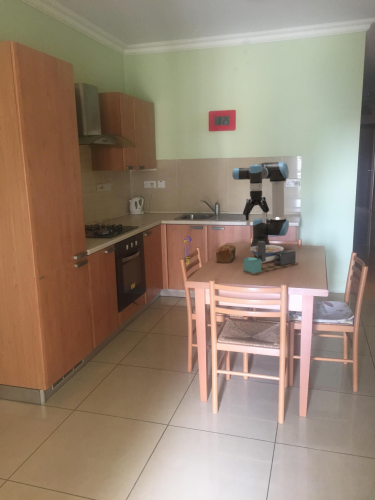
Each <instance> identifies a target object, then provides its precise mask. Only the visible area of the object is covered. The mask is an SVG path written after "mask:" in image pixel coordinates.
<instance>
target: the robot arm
mask: <svg viewBox="0 0 375 500" xmlns="http://www.w3.org/2000/svg"><path fill="white" fill-rule="evenodd" d="M289 174H290V171H289V166H288V164H287V163H286V162H285V161H274V162H272V161H271V162H262V163H261V162H260V163H258V164H250V166H246V167H235V168H233V169H232V178H233V180H235V181H236V180H238V181H240V180H241V181H243V180H249V190H250V191H249V197H250V198H246V204H245V206H244V208H243V211H242V215H244V216H245V221H246V223H245V224H246V227H247V226H249V227H250V226H251V212H252V210H253V209H254V207H255V206H259V208H260V209H261V210H262V212H261V213H262V216H261V217H259V218H256V219H253V221H252V240H251V243H250V248H251V247H253V246H256V245H257V242H258V241H264V242H266V245H271V244H270V240H269V239H270V238H269V236H274V237H275V236H276V237H282V236H283V237H285V236H286V235H287V234H288V231H289V227H290V224H289V223H290V222H289V220H288V219H287V217H286V216H285V182H286V181H287V179H288V178H289V176H290V175H289ZM265 179H266V180H269V182H270V183H271V203H272V204H271V205H272V207H271V208H272V209H271V210H272V211H271V212H272V215H271V217H270V219H269V218H268V213H269V212H270V208H269V206H268V203H267V198H266V197H265V196H263V180H265Z"/></svg>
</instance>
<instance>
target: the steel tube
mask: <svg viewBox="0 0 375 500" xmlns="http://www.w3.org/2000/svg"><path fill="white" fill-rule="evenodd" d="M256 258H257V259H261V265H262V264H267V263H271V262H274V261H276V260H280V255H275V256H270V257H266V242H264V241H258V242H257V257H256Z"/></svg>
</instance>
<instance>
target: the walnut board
mask: <svg viewBox="0 0 375 500" xmlns="http://www.w3.org/2000/svg"><path fill="white" fill-rule="evenodd" d="M297 265H299V263H298V262H296V261H295V263H292V264H288V265H284V266H278V265H275V264H274V263H270V264H267V265H261V272H257V273H251V272H248V271H244V269H243V271H242V272H243V273H245V274H249V275H251V276H254V275H255V276H256V275H260V274H264V273H268V272H272V271H276V270H281V269H285V268H289V267H294V266H297Z"/></svg>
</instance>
